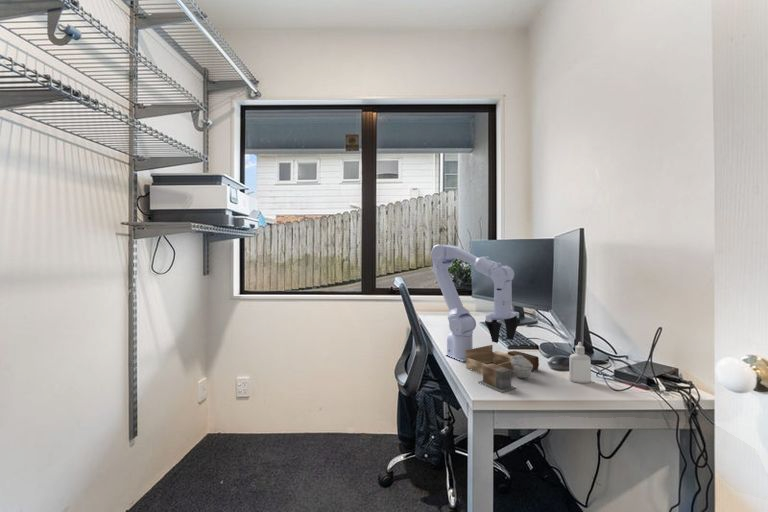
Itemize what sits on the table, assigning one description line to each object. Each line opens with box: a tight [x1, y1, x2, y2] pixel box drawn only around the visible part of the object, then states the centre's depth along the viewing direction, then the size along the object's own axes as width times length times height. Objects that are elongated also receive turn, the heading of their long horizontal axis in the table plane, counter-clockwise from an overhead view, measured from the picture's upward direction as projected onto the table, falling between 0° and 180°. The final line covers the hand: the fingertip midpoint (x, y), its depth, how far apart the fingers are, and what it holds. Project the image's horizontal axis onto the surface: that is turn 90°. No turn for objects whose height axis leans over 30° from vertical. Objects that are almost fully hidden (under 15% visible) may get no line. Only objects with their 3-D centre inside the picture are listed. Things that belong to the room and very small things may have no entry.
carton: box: [465, 344, 515, 375], centre depth 116 cm, size 11×16×6 cm
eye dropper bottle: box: [568, 341, 592, 384], centre depth 104 cm, size 4×6×12 cm
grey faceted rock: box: [510, 355, 533, 379], centre depth 107 cm, size 6×7×7 cm
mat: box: [478, 379, 517, 394], centre depth 101 cm, size 9×6×1 cm, turn 31°
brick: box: [506, 350, 540, 373], centre depth 117 cm, size 11×4×5 cm, turn 31°
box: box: [482, 362, 512, 390], centre depth 101 cm, size 7×4×5 cm, turn 31°
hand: (502, 340), depth 116 cm, fingers open, 7 cm apart
